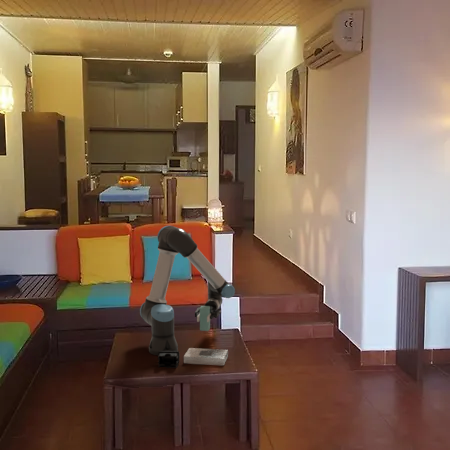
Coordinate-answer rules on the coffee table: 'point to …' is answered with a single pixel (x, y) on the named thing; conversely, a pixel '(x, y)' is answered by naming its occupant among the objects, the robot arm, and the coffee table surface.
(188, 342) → the coffee table surface
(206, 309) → the teal post
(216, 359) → the grey rectangular frame
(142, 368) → the coffee table surface
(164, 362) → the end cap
